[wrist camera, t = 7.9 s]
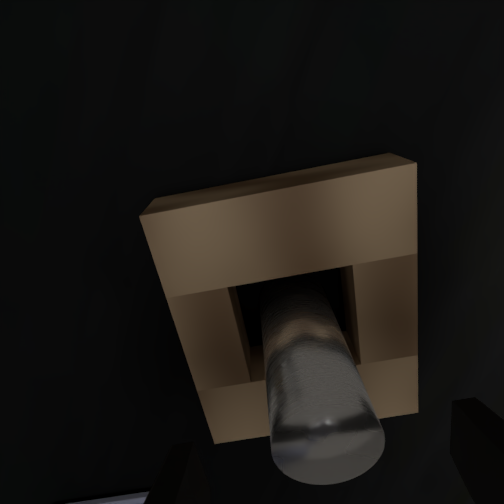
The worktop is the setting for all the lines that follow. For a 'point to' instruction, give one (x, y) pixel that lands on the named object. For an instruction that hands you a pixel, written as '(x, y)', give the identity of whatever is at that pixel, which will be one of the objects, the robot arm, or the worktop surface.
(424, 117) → the worktop surface
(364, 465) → the metal peg
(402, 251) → the socket plate
